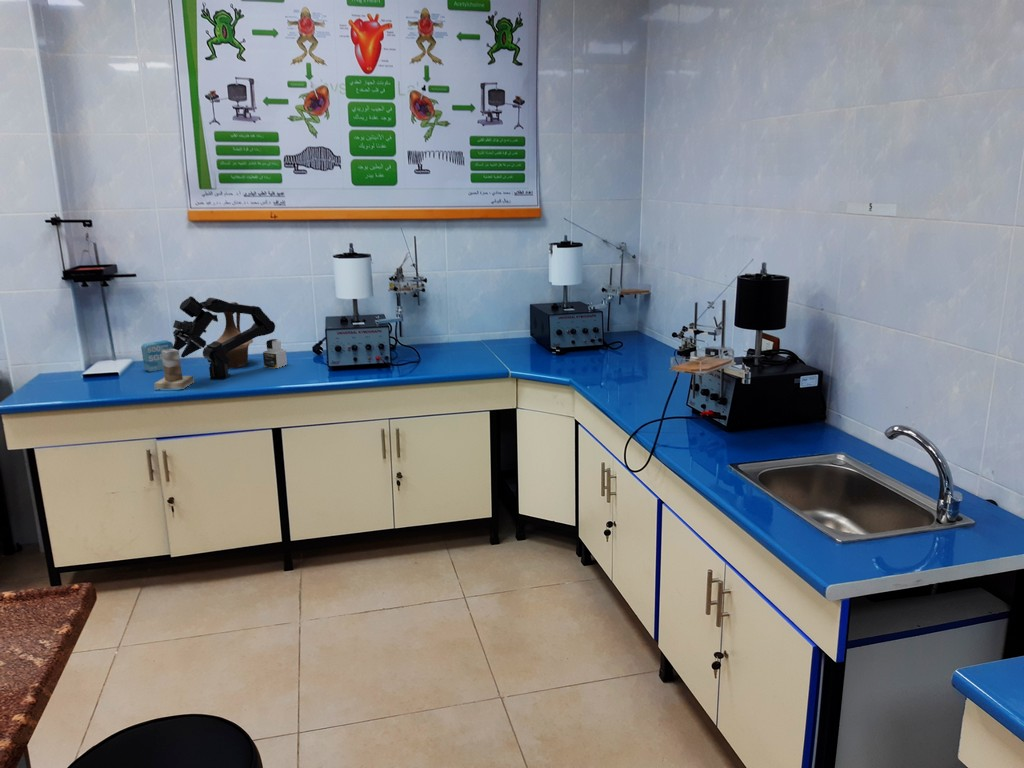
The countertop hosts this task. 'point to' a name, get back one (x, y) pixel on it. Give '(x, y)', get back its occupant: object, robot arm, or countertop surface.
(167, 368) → the gray square block
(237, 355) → the pitcher
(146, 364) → the data package
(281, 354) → the medicine bottle
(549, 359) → the countertop surface
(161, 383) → the beige square block
